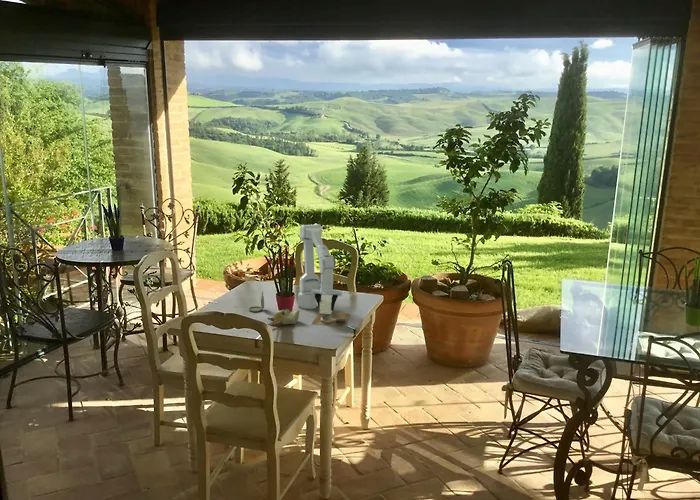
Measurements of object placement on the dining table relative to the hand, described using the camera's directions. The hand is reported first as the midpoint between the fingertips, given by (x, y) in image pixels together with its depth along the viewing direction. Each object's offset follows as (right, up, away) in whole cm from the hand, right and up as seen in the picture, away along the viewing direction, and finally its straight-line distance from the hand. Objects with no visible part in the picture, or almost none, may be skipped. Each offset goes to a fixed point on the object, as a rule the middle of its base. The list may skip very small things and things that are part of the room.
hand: (326, 309), depth 273 cm
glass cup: (-35, -2, +19) cm, 40 cm away
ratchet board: (+2, -6, +5) cm, 9 cm away
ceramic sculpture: (-20, -8, -1) cm, 21 cm away
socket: (0, -1, 0) cm, 1 cm away
